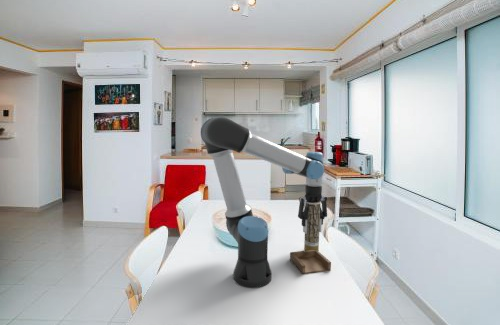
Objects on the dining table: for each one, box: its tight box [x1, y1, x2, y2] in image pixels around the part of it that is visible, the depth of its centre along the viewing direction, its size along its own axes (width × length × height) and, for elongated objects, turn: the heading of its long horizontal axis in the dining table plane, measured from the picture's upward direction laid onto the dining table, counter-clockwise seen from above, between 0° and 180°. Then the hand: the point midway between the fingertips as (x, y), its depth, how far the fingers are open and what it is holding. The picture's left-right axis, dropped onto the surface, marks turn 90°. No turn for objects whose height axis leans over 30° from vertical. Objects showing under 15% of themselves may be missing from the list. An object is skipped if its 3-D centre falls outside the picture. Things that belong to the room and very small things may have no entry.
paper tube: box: [303, 200, 321, 252], centre depth 136 cm, size 7×7×25 cm
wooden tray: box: [289, 250, 332, 275], centre depth 124 cm, size 13×13×4 cm
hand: (312, 231), depth 136 cm, fingers closed on paper tube, 7 cm apart
